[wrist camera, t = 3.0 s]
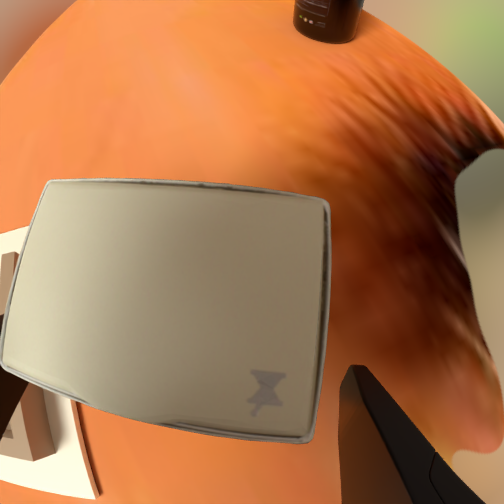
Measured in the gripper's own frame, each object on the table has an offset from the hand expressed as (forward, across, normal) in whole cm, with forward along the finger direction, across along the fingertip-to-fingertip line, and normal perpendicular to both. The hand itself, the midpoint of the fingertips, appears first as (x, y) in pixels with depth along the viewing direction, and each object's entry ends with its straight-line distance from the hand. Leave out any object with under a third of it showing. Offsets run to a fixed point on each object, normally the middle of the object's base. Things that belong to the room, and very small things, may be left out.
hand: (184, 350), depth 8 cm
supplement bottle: (+29, -4, -16) cm, 34 cm away
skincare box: (+7, 0, +6) cm, 9 cm away
